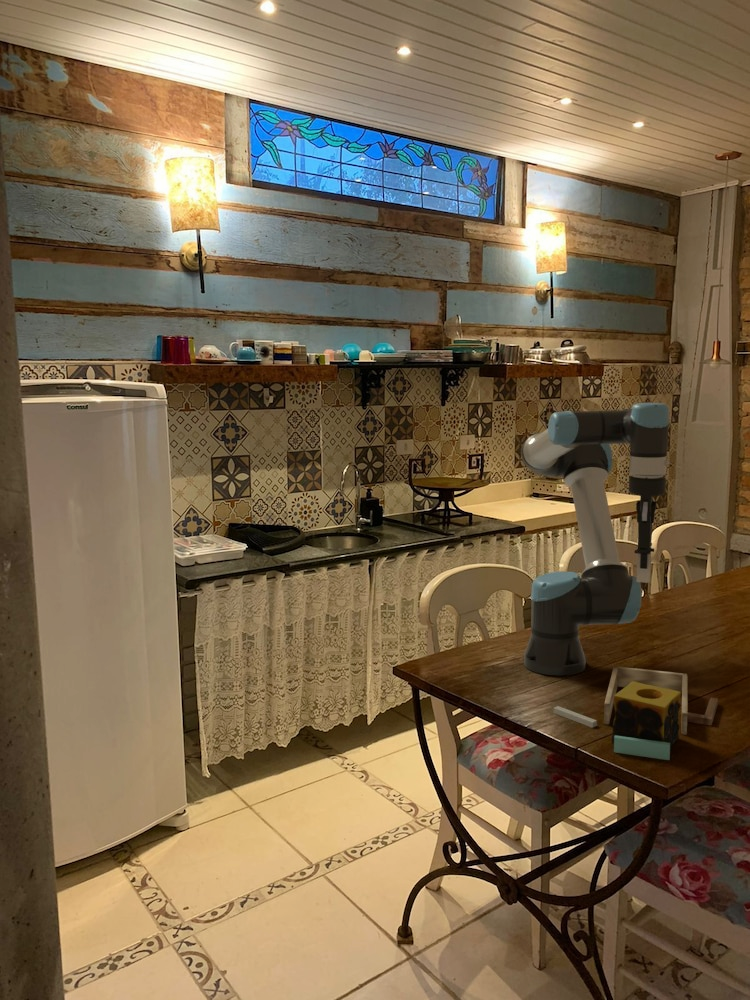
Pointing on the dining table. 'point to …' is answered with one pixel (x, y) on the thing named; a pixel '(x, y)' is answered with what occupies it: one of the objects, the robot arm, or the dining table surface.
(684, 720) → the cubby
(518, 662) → the dining table surface
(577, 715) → the grey stick
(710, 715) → the crook tool
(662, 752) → the bar
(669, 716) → the candle
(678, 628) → the dining table surface
